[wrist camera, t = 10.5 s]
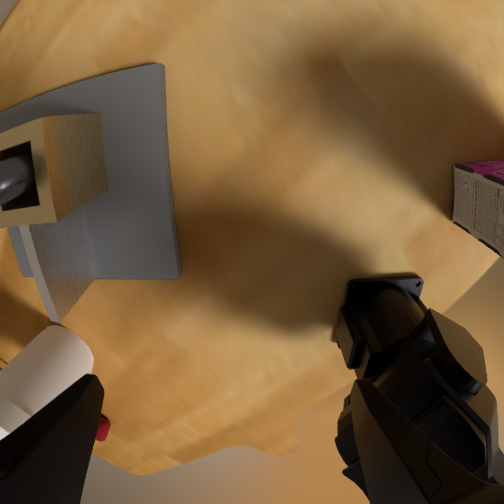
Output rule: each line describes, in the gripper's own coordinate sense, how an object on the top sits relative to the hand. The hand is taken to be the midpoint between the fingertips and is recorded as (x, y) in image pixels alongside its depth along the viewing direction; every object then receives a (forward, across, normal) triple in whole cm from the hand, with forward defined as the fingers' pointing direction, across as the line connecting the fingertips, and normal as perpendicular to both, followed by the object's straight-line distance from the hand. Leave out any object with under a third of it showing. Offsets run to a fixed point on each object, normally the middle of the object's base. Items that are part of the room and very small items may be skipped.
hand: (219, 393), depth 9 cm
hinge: (+11, +14, -4) cm, 18 cm away
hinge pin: (+11, +10, -7) cm, 17 cm away
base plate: (+12, +12, -5) cm, 17 cm away
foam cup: (+12, +18, +11) cm, 24 cm away
